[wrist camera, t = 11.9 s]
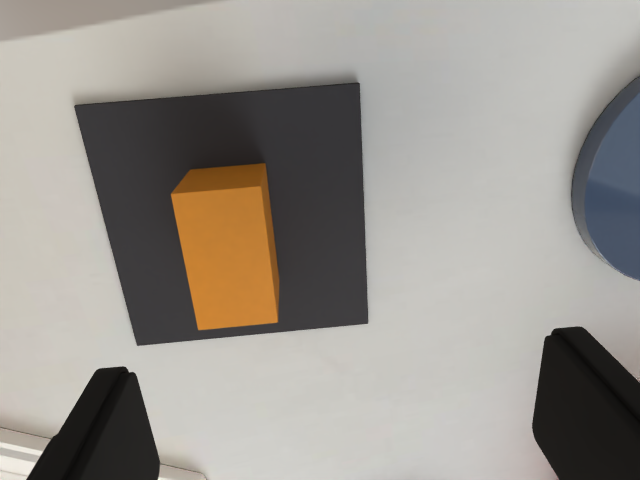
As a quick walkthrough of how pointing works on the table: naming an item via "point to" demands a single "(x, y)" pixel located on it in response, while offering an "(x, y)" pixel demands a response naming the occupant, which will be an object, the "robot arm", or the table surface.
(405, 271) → the table surface
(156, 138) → the mat
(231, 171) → the block
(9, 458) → the tray
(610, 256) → the plate
